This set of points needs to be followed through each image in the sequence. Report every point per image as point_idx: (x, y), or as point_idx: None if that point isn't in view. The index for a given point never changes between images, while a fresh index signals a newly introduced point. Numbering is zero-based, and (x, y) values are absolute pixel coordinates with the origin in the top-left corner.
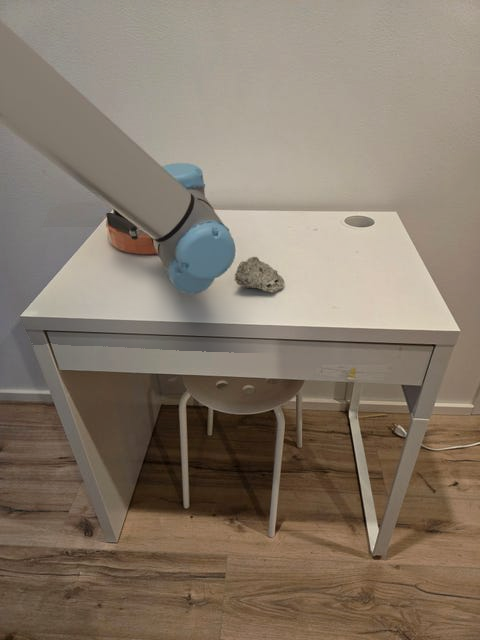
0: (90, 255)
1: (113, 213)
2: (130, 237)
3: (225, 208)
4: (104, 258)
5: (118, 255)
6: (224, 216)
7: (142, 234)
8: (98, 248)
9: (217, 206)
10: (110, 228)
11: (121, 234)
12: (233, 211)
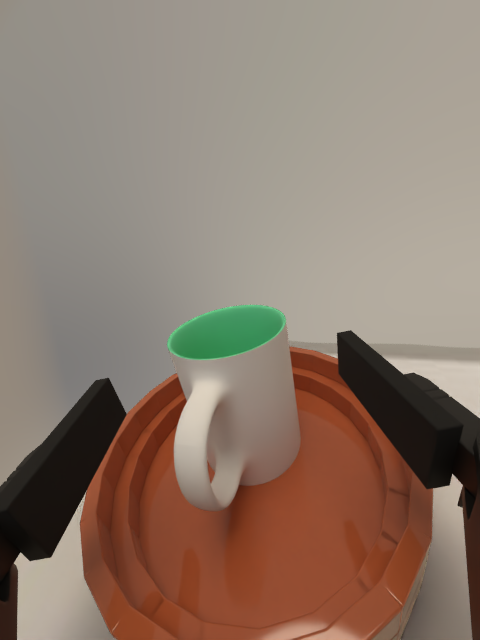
0: (25, 571)
1: (159, 386)
2: (101, 614)
3: (431, 354)
4: (34, 632)
5: (92, 616)
6: (452, 385)
7: (215, 470)
8: (81, 515)
9: (404, 347)
10: (95, 476)
11: (88, 555)
12: (466, 366)
